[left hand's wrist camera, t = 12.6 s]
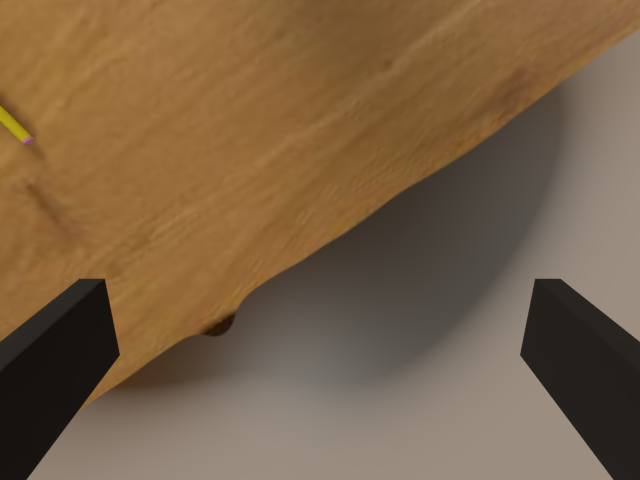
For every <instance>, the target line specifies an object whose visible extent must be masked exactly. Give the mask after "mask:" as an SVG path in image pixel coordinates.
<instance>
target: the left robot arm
mask: <svg viewBox="0 0 640 480" xmlns="http://www.w3.org/2000/svg"><path fill="white" fill-rule="evenodd" d="M520 355H521V357H522V358H523V360H524V361H525V362H526V363H527V365H528V366H529V368H530V369H531V370H532V372H533V373H534V374H535V376H536V377H537V378H538V379H539V381H540V382H541V383H542V385H543V386H544V388H545V389H546V390H547V392H548V393H549V394H550V396H551V397H552V398H553V400H554V401H555V402H556V404H557V405H558V406H559V408H560V409H561V410H562V412H563V413H564V414H565V416H566V417H567V418H568V419H569V421H570V422H571V424H572V425H573V426H574V427H575V429H576V430H577V431H578V433H579V434H580V436H581V437H582V438H583V440H584V441H585V442H586V444H587V445H588V446H589V448H590V449H591V450H592V452H593V453H594V454H595V456H596V457H597V458H598V460H599V461H600V462H601V464H602V465H603V466H604V468H605V469H606V470H607V472H608V473H609V474H610V476H611V477H612V478H613V480H640V342H639V341H638V340H637V339H635V338H634V337H633V336H632V335H630V334H629V333H628V332H627V331H625V330H624V329H623V328H622V327H620V326H619V325H618V324H617V323H615V322H614V321H613V320H612V319H610V318H609V317H608V316H607V315H605V314H604V313H603V312H601V311H600V310H599V309H598V308H596V307H595V306H594V305H593V304H591V303H590V302H589V301H588V300H586V299H585V298H584V297H583V296H581V295H580V294H579V293H578V292H576V291H575V290H574V289H572V288H571V287H570V286H569V285H567V284H566V283H565V282H564V281H562V280H561V279H535V283H534V288H533V293H532V298H531V303H530V308H529V313H528V318H527V323H526V328H525V333H524V338H523V343H522V348H521V353H520ZM119 356H120V353H119V348H118V343H117V338H116V333H115V328H114V323H113V318H112V313H111V308H110V303H109V298H108V293H107V288H106V283H105V279H79V280H78V281H76V282H75V283H74V284H72V285H71V286H70V287H69V288H67V289H66V290H65V291H64V292H62V293H61V294H60V295H59V296H57V297H56V298H55V299H54V300H52V301H51V302H50V303H49V304H47V305H46V306H45V307H44V308H42V309H41V310H40V311H39V312H37V313H36V314H35V315H33V316H32V317H31V318H30V319H28V320H27V321H26V322H25V323H23V324H22V325H21V326H20V327H18V328H17V329H16V330H15V331H13V332H12V333H11V334H10V335H8V336H7V337H6V338H5V339H3V340H2V341H1V342H0V480H27V478H28V477H29V476H30V474H31V473H32V472H33V470H34V469H35V468H36V466H37V465H38V464H39V462H40V461H41V460H42V458H43V457H44V456H45V454H46V453H47V452H48V450H49V449H50V448H51V446H52V445H53V444H54V442H55V441H56V440H57V438H58V437H59V436H60V434H61V433H62V432H63V430H64V429H65V428H66V426H67V425H68V424H69V422H70V421H71V420H72V418H73V417H74V416H75V414H76V413H77V412H78V410H79V409H80V408H81V406H82V405H83V404H84V402H85V401H86V400H87V398H88V397H89V396H90V394H91V393H92V392H93V390H94V389H95V388H96V386H97V385H98V384H99V382H100V381H101V380H102V378H103V377H104V376H105V374H106V373H107V372H108V370H109V369H110V368H111V366H112V365H113V364H114V362H115V361H116V360H117V358H118V357H119Z"/></svg>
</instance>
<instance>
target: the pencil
mask: <svg viewBox="0 0 640 480" xmlns="http://www.w3.org/2000/svg"><path fill="white" fill-rule="evenodd" d="M0 121H1V122H2V123H3V124H4V125H5V126H6V127H7V128H8V129H9V130H10V131H11V132H12V133H13V134H14V135H15V136H16V137H17V138H18V139H19V140H20V141H21V142H22V143H23V144H24V145H27V144H29V143H31V142H32V141H33V140H34V138H33V137H32V136H31V135H30V134H29V133H28V132H27V131H26V130H25V129H24V128H23V127H22V126H21V125H20V124H19V123H18V122H17V121H16V120H15V119H14V118H13V117H12V116H11V115H10V114H9V113H8V112H7V111H5V110H4V109H3V108H2V107H1V106H0Z"/></svg>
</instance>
